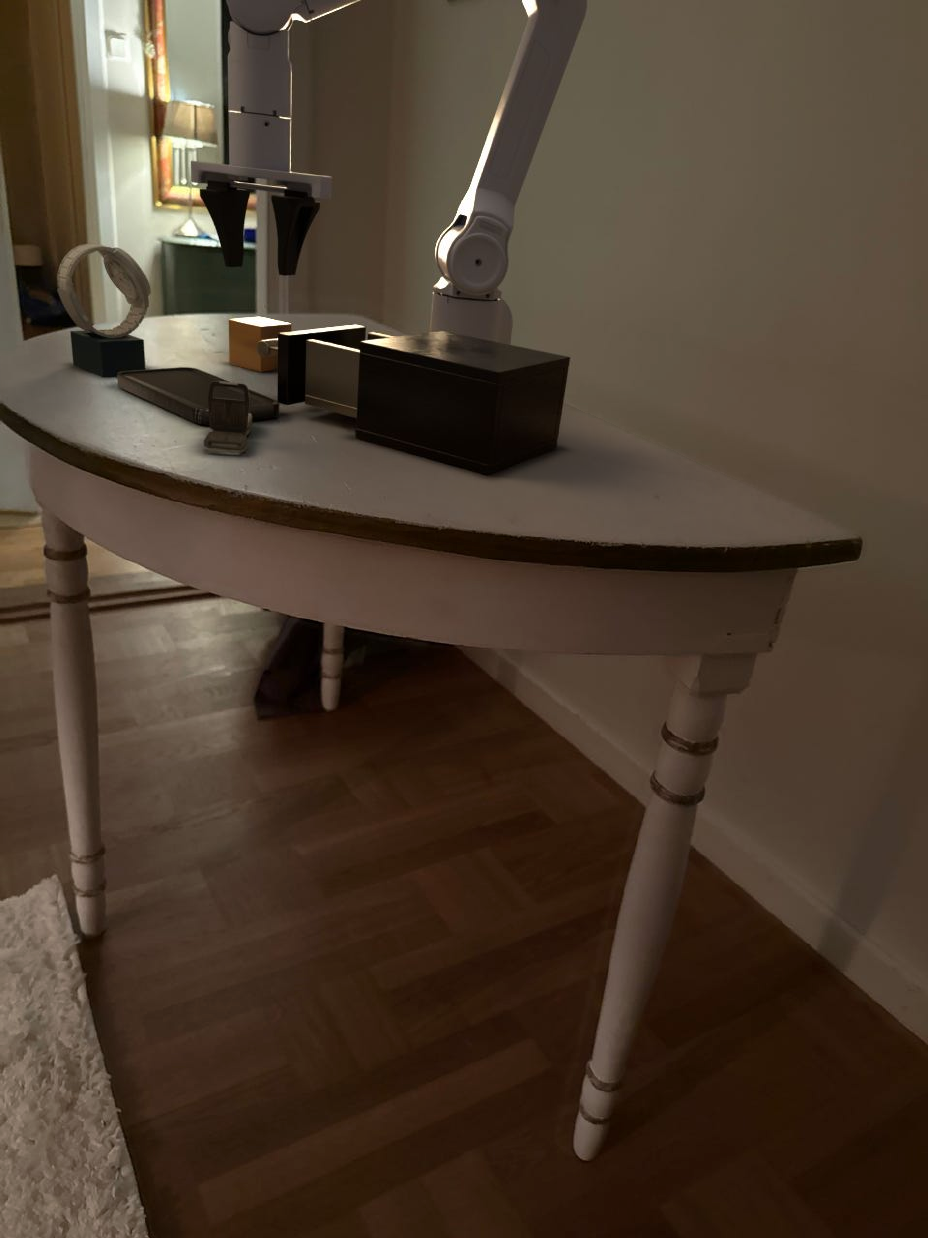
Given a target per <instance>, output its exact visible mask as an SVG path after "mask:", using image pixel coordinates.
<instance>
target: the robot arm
mask: <svg viewBox="0 0 928 1238" xmlns="http://www.w3.org/2000/svg"><path fill="white" fill-rule="evenodd" d="M359 1H360V0H225V2H226V6H227V7H228V11H229V15H230V17H231V21H229V29H228V36H227V37H228V44H229V48H230V49H229V52H228V54H227V82H228V83H227V90H228V91H227V94H228V95H227V96H228V97H227V98H228V100H227V101H228V153H229V154H228V155H229V156H228V157H229V164H227V163H226V164H225V163H217V162H210V161H209V162H207V161H201V160H190V182H191V183H195V184H206V185H207V186H205V188H199V197H200V199H201V201H202V203H203V204H204V207H205V208H206V210H207V212H208V214H209V216H210V218H211V221H212V223H213V227H214V228H215V231H216V234H217V238H218V242H219V245H220V248H221V254H222V258H223V262H224V266H225V267H226V268H240V267H241V268H242V267H243V263H244V257H245V254H244V253H245V248H244V247H245V242H244V241H245V238H244V237H245V236H244V235H245V222H246V214H247V209H248V204H249V201H250V196H251V190H255V191H261V192H262V191H263V192H270V193H278V194H283V195H278V194H271V196H270V201H271V205H272V209H273V214H274V220H275V227H276V235H277V236H276V237H277V270H278V275H279V276H283V277H285V276H286V277H287V276H288V277H289V276H295V275H296V273H297V268H298V263H299V260H300V256H301V252H302V249H303V246H304V243H305V240H306V237H307V235H308V232H309V230H310V228H311V226H312V224H313V221H314V220H315V218H316V216H317V214H318V213H319V211H320V209H321V201H318V200H317V201H316V199H325V200H327V199H328V200H331V199H332V188H333V187H332V185H333V184H332V183H333V182H332V181H333V177H332V176H329V175H319V174H312V173H311V174H310V173H304V172H295V171H291V167H292V166H291V165H292V163H291V159H292V158H291V157H292V156H291V155H292V153H291V151H292V150H291V149H292V81H293V80H292V75H293V74H292V73H293V71H292V70H293V69H292V61H291V60H290V59H289V58H290V33H289V30H290V29H291V27H292V25H293V22H294V21H296V20H297V21H301V22H303V23H308V22H311V21H313V20H316V19H319V18H321V17H323V16H325V15H328V14H331V13H333V12H335V11H338V10H340V9H342V8H345V7H348V6H350V5H351V4H355V3H357V2H359ZM521 2H522V4H523V6H524V8H525V11H526V14H527V22H526V26H525V28H524V31H523V34H522V37H521V39H520V42H519V45H518V49H517V51H516V54H515V56H514V59H513V63H512V65H511V69H510V71H509V74H508V77H507V80H506V82H505V85H504V88H503V90H502V94H501V97H500V100H499V103H498V105H497V109H496V111H495V115H494V117H493V119H492V123H491V126H490V127H489V131H488V134H487V137H486V140H485V142H484V146H483V147H482V152H481V154H480V157H479V161H478V162H477V166H476V168H475V172H474V175H473V177H472V180H471V183H470V186H469V188H468V191H466V194H465V196H464V198H463V200H461V203H460V204H459V207H458V209H457V213H456V215H455V216H454V220H453V221H452V222H451V224H450V225H449V226H448V227H447V228H446V229H445V230H444V231H443V232H442V233H441V235H440V237H439V238H438V240H437V242H436V246H435V253H434V257H435V263H436V267H437V269H438V271H439V273H440V274H441V275H442V276H441V277H440V279H439V281H438V282H437V283H436V284H434V285H432V286H433V287H432V288H433V289H432V290H433V292H432V299H431V312H430V322H429V323H430V324H429V333H431V332H438V331H445V332H450V333H455V334H459V335H464V336H469V337H474V338H479V339H484V340H489V341H494V342H499V343H503V344H508V345H511V343H512V335H513V327H514V325H513V324H514V319H513V313H512V311H511V308H510V306H509V305H508V303H507V301H506V300H504V299H503V298H502V293H503V292H502V290H500V289H499V288H498V287H500V285H501V284H502V283H503V281H504V279H505V277H506V275H507V272H508V269H509V262H510V261H509V242H510V238H511V236H512V233H513V230H514V223H515V207H516V204H517V201H518V199H519V196H520V193H521V191H522V188H523V185H524V182H525V180H526V177H527V174H528V171H529V169H530V166H531V163H532V161H533V158H534V155H535V153H536V150H537V147H538V145H539V142H540V139H541V136H542V134H543V131H544V129H545V126H546V124H547V121H548V117H549V114H550V112H551V109H552V106H553V104H554V101H555V99H556V96H557V94H558V92H559V88H560V85H561V82H562V80H563V77H564V74H565V72H566V70H567V66H568V64H569V61H570V58H571V55H572V53H573V49H574V47H575V45H576V42H577V39H578V37H579V33H580V32H581V29H582V26H583V23H584V21H585V18H586V13H587V9H588V0H521ZM249 178H252V179H261V180H270V181H272V182H273V183H272V184H273V185H274V186H273V185H266V184H259V183H249V182H243V181H248V179H249ZM241 181H242V182H241ZM282 186H284V187H282Z"/></svg>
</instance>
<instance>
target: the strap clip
mask: <svg viewBox="0 0 928 1238" xmlns="http://www.w3.org/2000/svg"><path fill="white" fill-rule="evenodd" d="M215 386H225V387H236V388H242V389H243V390H244V397H245V401H244V400H233V399H222V398H213V396H214V388H215ZM248 389H249V388H248V386H247V385H246V384H245V383H240V382H235V381H234V382H233V381H229V382H223V381H213V382H212V383H211V385H210V388H209V394H208V408H209V429H210V430H211V431H209V432H208V433H207V434H206V436H205V438H204V440H203V448H204V450H206V451H208V452H209V451H211V452H220V453H221V452H223V453H236V454H240V453H244V452H245V451H246V450H247V440H248V439H247V435H249V433H250V432H251V430H252V427H253V420H252V415H251V414H250V413H249V404H250V399H249V391H248Z"/></svg>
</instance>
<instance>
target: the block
mask: <svg viewBox="0 0 928 1238" xmlns="http://www.w3.org/2000/svg"><path fill="white" fill-rule="evenodd" d="M283 332H292V323H289V322H285V321H281V320H278V319H277V320H276V319H271V318H267V317H264V316H263V317H262V316H254V317H253V316H251V317H239V318H229V319H228V358H229V363H228V364H229V365H232V366H234V367H235V366H237V367H240V368H243V369H246V370H247V369H248V370H251V371H254V372H255V371H256V372H258V373H264V372H271V371H278V355H276V356H269V357H262V356H260V355H259V353H258V351H257V344H258V342H259V341H262V340H271V339H278V333H283Z"/></svg>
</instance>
